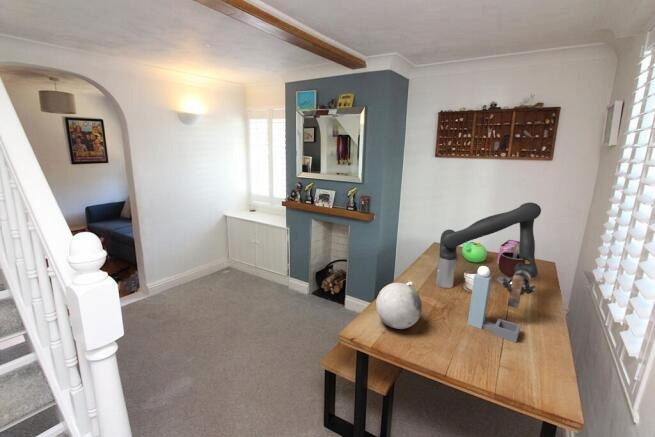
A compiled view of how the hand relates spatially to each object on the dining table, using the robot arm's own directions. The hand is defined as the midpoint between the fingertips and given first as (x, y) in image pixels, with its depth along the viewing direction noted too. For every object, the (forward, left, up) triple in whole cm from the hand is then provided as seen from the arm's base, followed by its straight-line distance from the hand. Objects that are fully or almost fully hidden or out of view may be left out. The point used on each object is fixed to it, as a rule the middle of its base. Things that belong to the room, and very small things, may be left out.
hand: (515, 291), depth 144 cm
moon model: (-45, -27, -17) cm, 56 cm away
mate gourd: (+1, +57, -17) cm, 59 cm away
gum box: (0, +97, -17) cm, 98 cm away
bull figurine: (-49, +1, -17) cm, 52 cm away
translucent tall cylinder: (0, +3, -8) cm, 8 cm away
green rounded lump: (-22, +83, -17) cm, 87 cm away
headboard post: (-7, -8, -17) cm, 20 cm away
